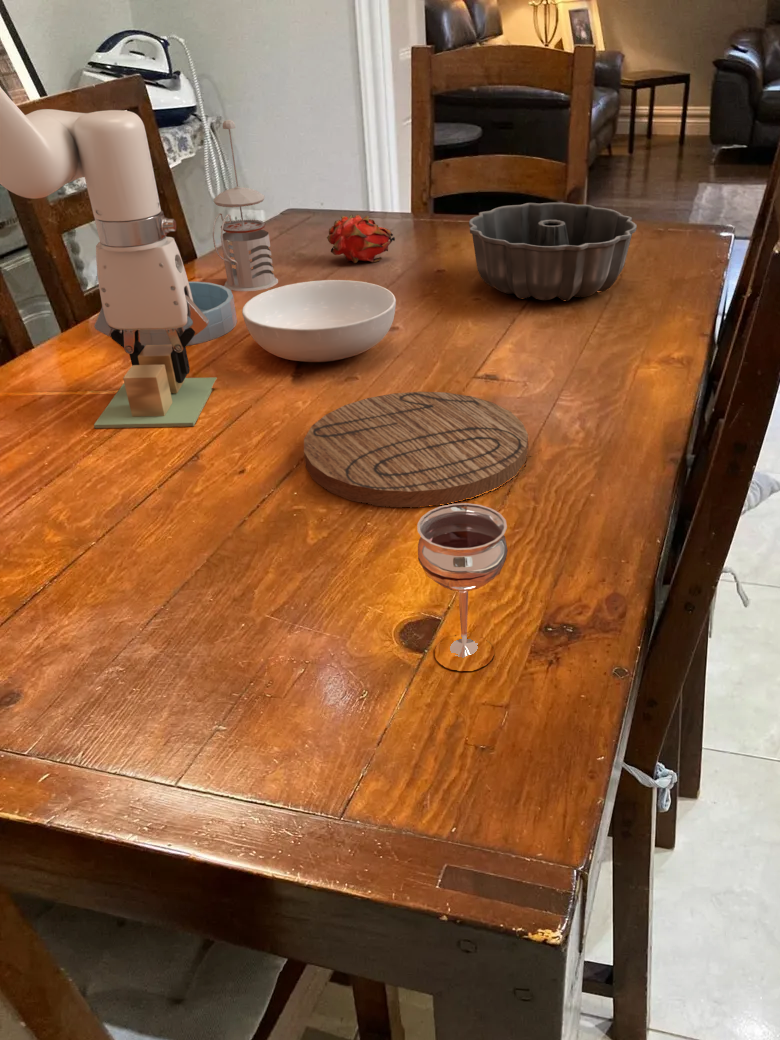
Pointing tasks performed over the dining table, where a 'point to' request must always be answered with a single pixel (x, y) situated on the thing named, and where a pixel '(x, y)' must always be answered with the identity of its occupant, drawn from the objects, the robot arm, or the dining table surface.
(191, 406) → the mat
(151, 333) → the pan
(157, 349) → the block back
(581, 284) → the bundt pan
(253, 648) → the dining table surface
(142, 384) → the block front
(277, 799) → the dining table surface
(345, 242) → the dragon fruit
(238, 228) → the french press
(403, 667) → the dining table surface
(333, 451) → the trivet
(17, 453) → the dining table surface
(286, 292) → the serving bowl
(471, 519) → the wineglass
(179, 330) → the robot arm
